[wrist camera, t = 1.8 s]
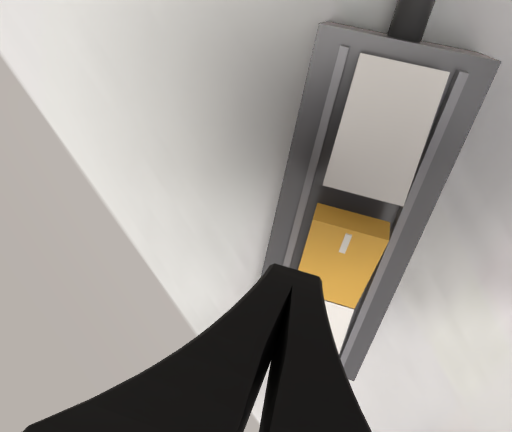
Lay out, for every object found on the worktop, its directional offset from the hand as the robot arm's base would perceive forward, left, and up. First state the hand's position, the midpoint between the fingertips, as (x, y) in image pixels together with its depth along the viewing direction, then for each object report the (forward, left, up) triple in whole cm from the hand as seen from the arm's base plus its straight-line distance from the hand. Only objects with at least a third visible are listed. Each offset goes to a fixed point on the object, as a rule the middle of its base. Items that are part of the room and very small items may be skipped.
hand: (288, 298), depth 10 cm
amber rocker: (-1, +2, -6) cm, 7 cm away
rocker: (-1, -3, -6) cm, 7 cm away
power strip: (-1, -1, -10) cm, 10 cm away
